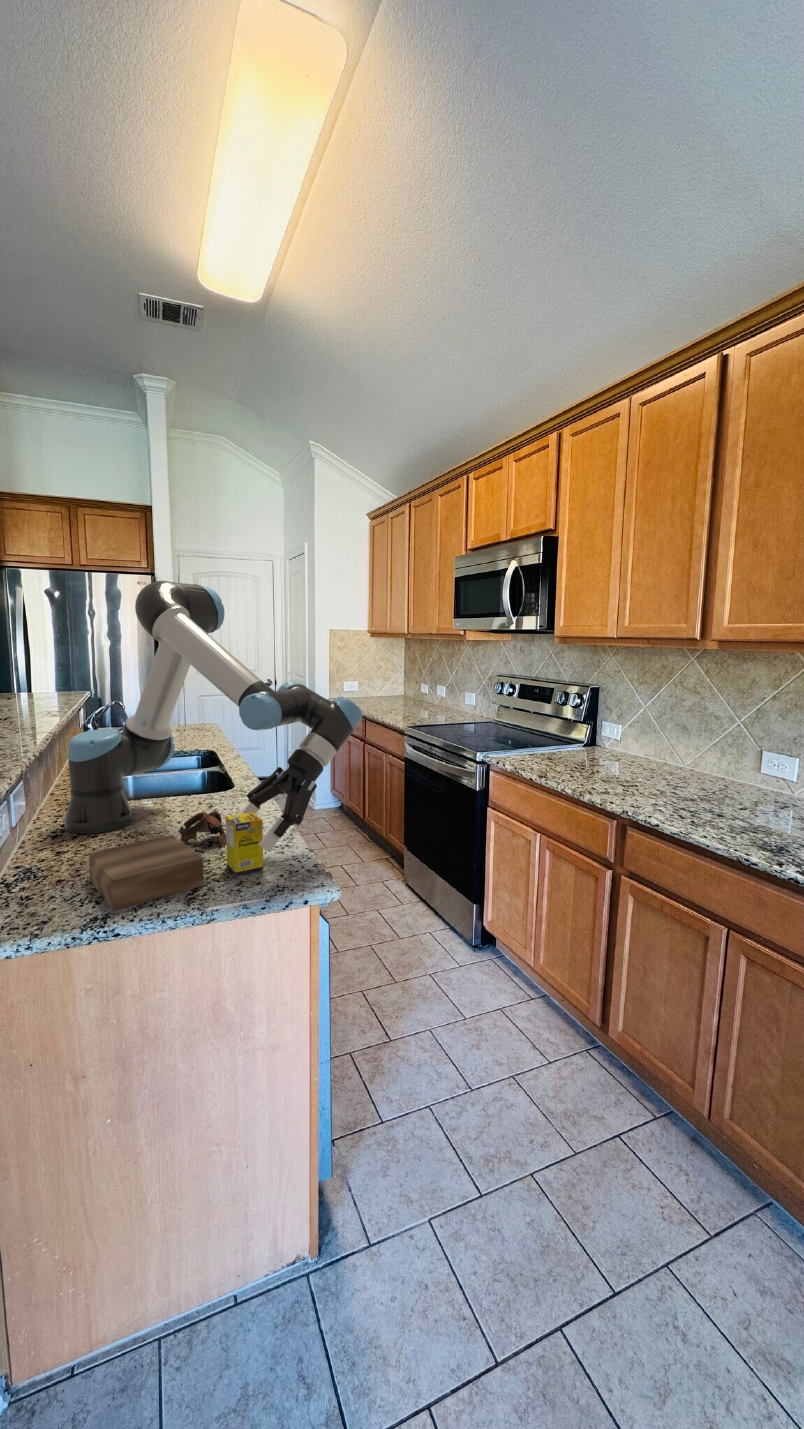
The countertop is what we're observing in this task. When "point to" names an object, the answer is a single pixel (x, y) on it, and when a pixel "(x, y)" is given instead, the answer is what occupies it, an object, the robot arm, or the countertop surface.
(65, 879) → the countertop surface
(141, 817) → the countertop surface
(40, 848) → the countertop surface
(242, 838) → the supplement box
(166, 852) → the walnut block
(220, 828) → the broken clay pot
